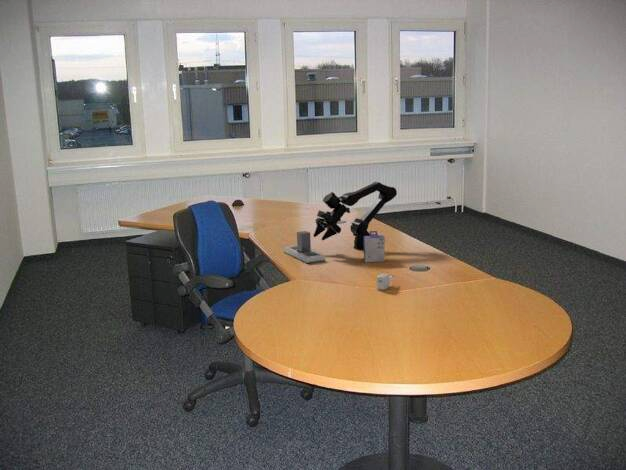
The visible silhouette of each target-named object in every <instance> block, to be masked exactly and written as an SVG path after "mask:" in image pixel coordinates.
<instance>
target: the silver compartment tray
mask: <svg viewBox="0 0 626 470" xmlns="http://www.w3.org/2000/svg"><path fill="white" fill-rule="evenodd" d="M283 249H284V254H286V255H288V256H290V257H292V258H294V259H296V260H298V261H300V262H302V263H304V264H306V265H310V264H316V263H321V262H322V263H323V262H326V254H324V253H321V252H319V251H317V250H314V249H313V248H311V252H306V253H300V252H298V251H297V245H291V246H285V247H284V248H283Z"/></svg>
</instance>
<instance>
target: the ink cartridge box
mask: <svg viewBox="0 0 626 470" xmlns="http://www.w3.org/2000/svg"><path fill="white" fill-rule="evenodd" d="M369 233H370V236H364V249H363V260H364V261H363V262H364V263H376V262H378V263H379V262H385V261H386V260H385V259H386V257H385V256H386V255H385V253H386V251H385V250H386V249H385V242H386V239H385V238H386V237H385V236H384V235H383V234H378V230H370V231H369Z"/></svg>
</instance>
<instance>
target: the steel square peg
mask: <svg viewBox="0 0 626 470" xmlns="http://www.w3.org/2000/svg"><path fill="white" fill-rule="evenodd" d="M296 246H297V251H298V252H300V253H306V252H311V249H312V248H311V247H312V246H311V232H309V231H306V230H303V231H297V232H296Z"/></svg>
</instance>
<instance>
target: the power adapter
mask: <svg viewBox="0 0 626 470" xmlns="http://www.w3.org/2000/svg"><path fill="white" fill-rule="evenodd" d="M394 277H395V276H394V275H393V274H392V275H390V274H388V273H383V272H382V273H380V274H378V275H377V276H376V285H375V287H376V289H377V290H378V291H379V290H380V291H384V290H387V289H389V287H390V282H391V281H393V279H394Z"/></svg>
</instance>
